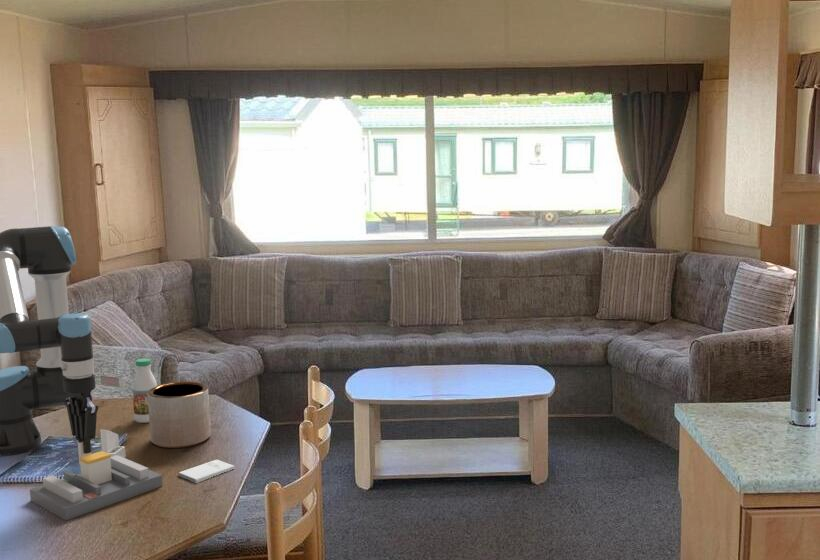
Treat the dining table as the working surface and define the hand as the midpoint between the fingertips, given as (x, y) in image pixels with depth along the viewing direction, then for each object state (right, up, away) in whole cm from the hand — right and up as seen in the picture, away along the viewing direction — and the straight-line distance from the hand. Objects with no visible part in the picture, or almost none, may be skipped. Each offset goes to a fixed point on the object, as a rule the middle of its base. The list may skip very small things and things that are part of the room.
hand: (85, 464), depth 213 cm
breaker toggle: (+4, -4, -3) cm, 6 cm away
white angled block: (0, -4, +21) cm, 21 cm away
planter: (+14, -1, +37) cm, 40 cm away
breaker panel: (+4, -7, -2) cm, 8 cm away
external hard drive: (+28, -5, +11) cm, 31 cm away
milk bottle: (-2, +2, +56) cm, 56 cm away
